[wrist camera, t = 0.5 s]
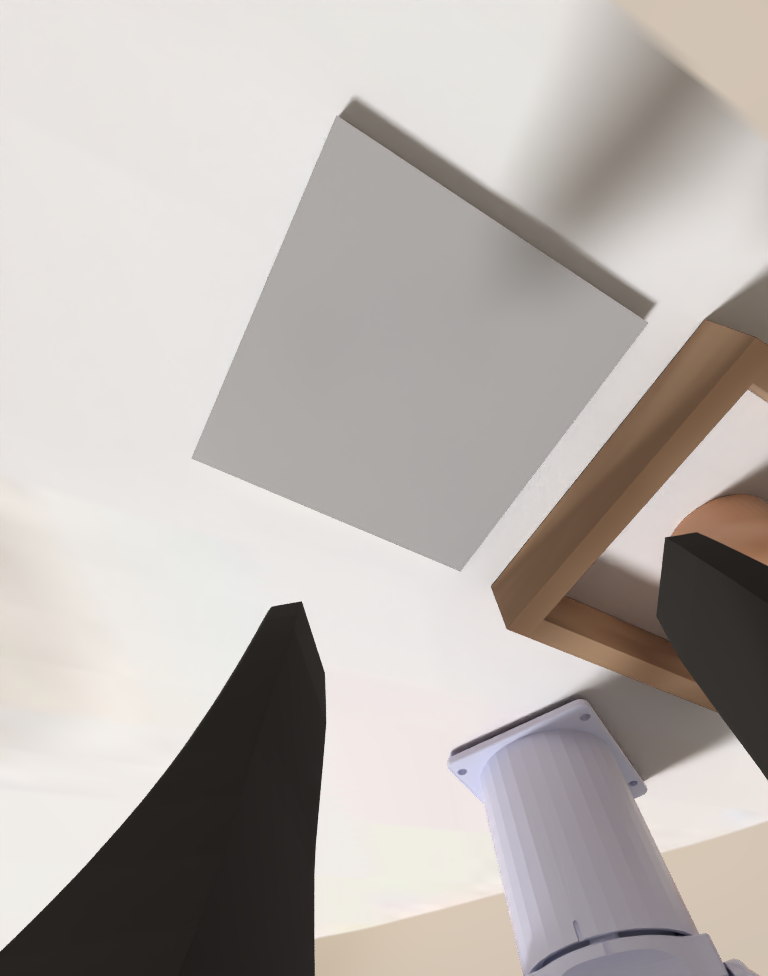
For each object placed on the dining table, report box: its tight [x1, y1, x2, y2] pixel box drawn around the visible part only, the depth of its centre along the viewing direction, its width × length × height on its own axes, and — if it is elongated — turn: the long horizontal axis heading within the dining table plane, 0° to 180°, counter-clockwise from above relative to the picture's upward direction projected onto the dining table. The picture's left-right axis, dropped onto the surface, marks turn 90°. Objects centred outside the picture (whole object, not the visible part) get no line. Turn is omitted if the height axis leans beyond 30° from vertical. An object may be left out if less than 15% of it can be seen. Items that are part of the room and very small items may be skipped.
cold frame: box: [491, 320, 768, 712], centre depth 21 cm, size 15×12×2 cm
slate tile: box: [192, 116, 648, 571], centre depth 18 cm, size 11×11×1 cm
